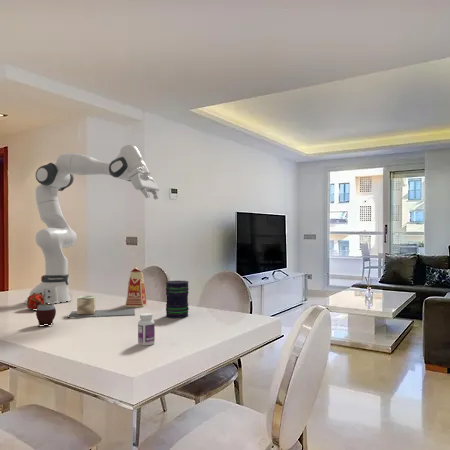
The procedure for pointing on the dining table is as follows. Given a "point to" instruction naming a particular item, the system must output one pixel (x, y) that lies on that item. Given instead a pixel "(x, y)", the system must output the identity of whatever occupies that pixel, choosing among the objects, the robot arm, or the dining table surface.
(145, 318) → the pill bottle
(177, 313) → the navy striped can
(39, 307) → the mate gourd
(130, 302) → the milk carton
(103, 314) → the mat
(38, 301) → the dragon fruit
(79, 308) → the block
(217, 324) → the dining table surface
